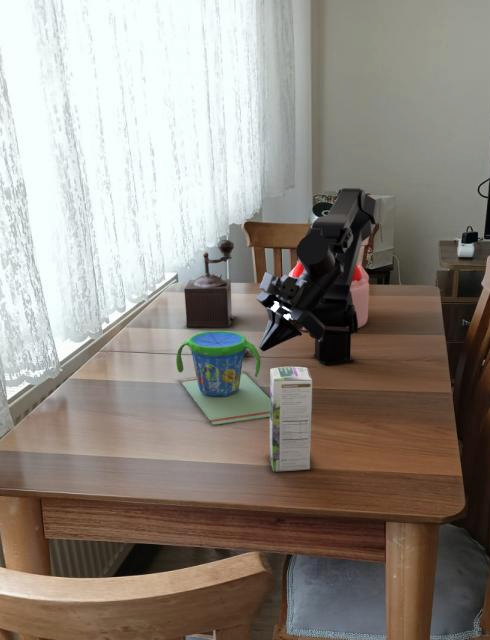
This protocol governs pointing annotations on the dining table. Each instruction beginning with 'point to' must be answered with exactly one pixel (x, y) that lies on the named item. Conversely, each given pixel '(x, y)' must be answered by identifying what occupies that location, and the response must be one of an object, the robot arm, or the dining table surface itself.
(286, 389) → the syrup box
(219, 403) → the green flat piece
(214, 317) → the manual coffee grinder
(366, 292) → the cake
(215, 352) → the snack cup
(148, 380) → the dining table surface
